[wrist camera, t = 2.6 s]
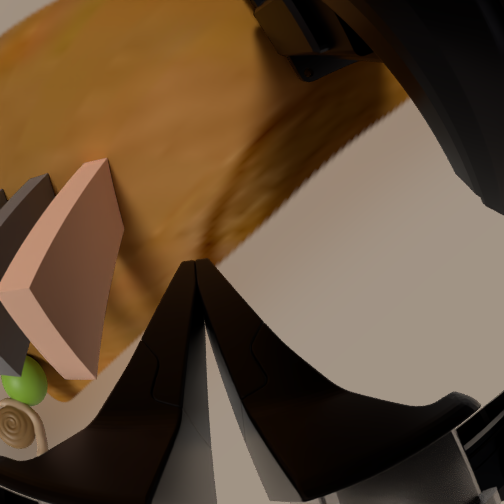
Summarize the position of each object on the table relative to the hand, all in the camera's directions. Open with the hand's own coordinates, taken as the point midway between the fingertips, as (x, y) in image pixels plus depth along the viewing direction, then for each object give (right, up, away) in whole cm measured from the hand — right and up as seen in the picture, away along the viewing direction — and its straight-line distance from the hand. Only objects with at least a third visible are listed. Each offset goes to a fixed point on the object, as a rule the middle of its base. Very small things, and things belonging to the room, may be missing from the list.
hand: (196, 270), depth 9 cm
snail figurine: (-21, -11, +12) cm, 26 cm away
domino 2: (-6, +4, +5) cm, 9 cm away
